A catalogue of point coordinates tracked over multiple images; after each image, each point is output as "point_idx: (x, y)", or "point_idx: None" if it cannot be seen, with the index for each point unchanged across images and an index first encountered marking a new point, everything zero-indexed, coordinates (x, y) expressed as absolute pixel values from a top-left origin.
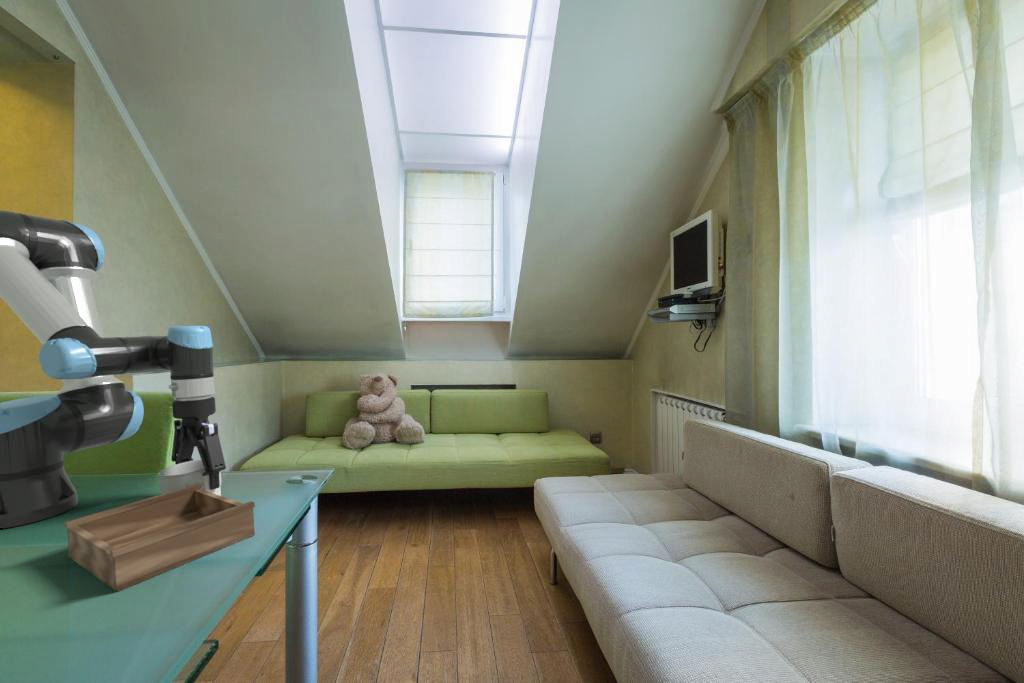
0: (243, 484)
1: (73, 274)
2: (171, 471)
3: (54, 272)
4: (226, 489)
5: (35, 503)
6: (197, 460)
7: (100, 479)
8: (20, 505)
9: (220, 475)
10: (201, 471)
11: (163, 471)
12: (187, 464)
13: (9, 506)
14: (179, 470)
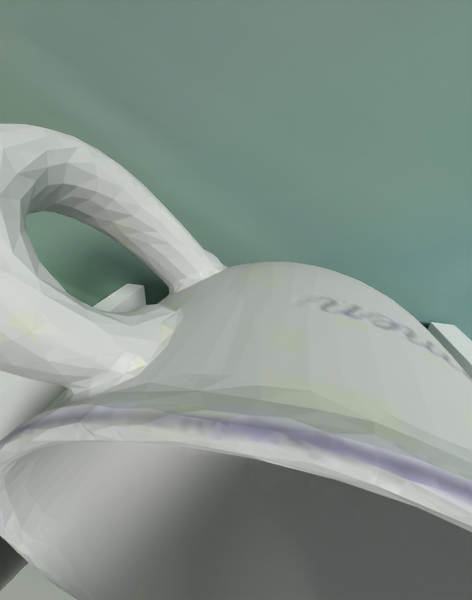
0: (275, 5)
1: None
2: (81, 522)
3: None
4: (255, 164)
5: (9, 559)
6: (2, 467)
7: None
8: (11, 573)
9: (460, 367)
10: None
11: (110, 595)
12: (25, 482)
13: (8, 581)
14: (70, 478)
